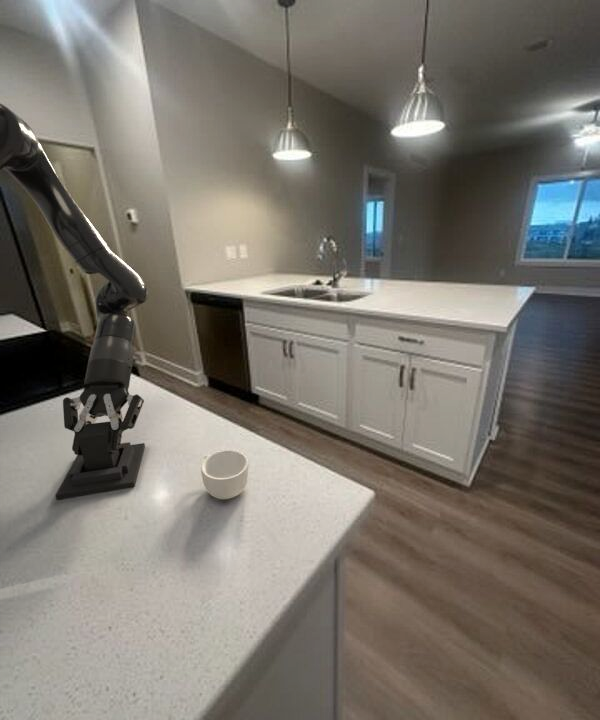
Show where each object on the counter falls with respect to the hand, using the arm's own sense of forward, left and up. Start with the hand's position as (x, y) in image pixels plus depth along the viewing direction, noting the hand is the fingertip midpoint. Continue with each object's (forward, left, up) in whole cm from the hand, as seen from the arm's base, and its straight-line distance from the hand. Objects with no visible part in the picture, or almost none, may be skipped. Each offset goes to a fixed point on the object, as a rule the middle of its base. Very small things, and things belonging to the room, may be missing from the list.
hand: (95, 453), depth 60 cm
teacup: (+21, -8, -5) cm, 23 cm away
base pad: (0, +2, -5) cm, 5 cm away
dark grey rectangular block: (0, +2, -4) cm, 5 cm away
